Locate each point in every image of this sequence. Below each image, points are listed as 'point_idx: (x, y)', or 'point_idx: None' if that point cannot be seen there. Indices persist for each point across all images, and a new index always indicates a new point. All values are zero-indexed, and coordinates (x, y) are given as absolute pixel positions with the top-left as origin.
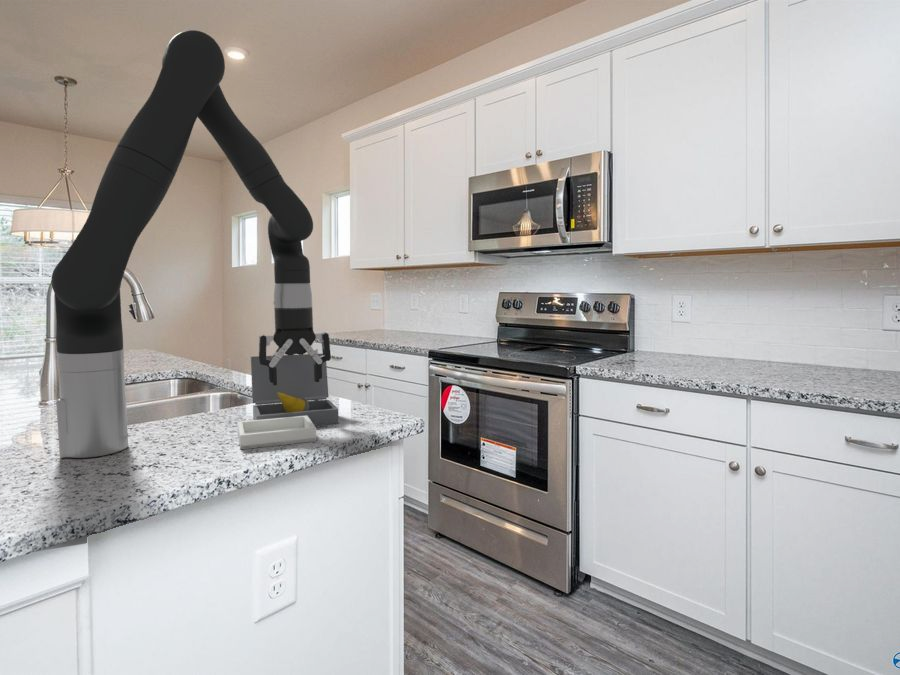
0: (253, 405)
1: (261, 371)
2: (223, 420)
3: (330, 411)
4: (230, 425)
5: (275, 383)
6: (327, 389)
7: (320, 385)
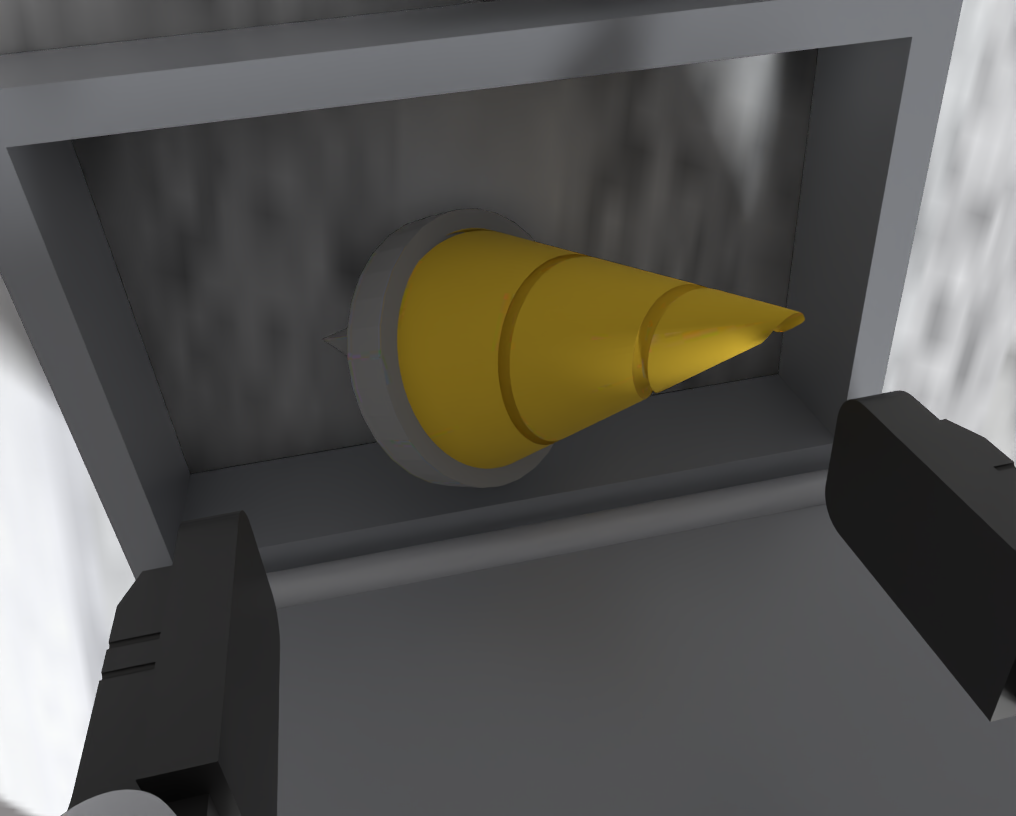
0: None
1: (960, 807)
2: (993, 407)
3: (49, 77)
4: (996, 251)
5: (883, 397)
6: None
7: None
